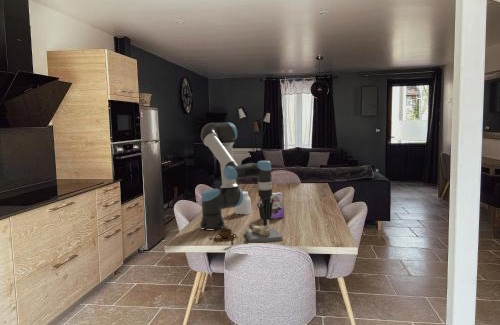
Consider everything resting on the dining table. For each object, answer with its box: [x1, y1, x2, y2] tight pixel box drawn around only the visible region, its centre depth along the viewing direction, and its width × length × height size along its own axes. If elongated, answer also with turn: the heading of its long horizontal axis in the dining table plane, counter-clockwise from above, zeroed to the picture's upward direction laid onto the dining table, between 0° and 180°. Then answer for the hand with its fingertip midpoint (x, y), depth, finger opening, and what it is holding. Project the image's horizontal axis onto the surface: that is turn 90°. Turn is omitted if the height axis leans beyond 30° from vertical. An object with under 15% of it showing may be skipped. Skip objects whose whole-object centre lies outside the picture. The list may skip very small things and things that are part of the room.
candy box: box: [270, 192, 285, 220], centre depth 251 cm, size 14×6×16 cm, turn 105°
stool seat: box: [244, 227, 283, 244], centre depth 209 cm, size 18×17×5 cm
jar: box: [234, 190, 252, 215], centre depth 266 cm, size 12×10×15 cm
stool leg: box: [248, 223, 270, 236], centre depth 210 cm, size 16×3×3 cm, turn 37°
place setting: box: [214, 228, 237, 246], centre depth 207 cm, size 18×20×6 cm
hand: (266, 230), depth 209 cm, fingers closed
